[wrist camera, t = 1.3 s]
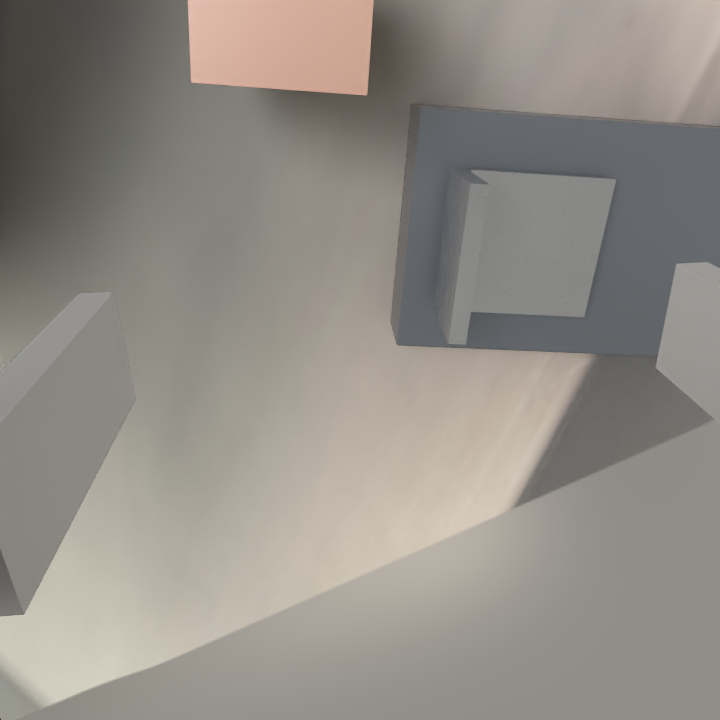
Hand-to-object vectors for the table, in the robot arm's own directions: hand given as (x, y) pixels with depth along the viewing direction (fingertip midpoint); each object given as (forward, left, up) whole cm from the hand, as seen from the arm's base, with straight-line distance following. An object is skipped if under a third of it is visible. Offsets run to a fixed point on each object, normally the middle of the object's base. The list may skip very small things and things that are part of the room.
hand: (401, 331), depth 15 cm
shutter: (+8, -2, -17) cm, 19 cm away
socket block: (+12, -2, -21) cm, 24 cm away
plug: (-4, +7, -21) cm, 22 cm away
